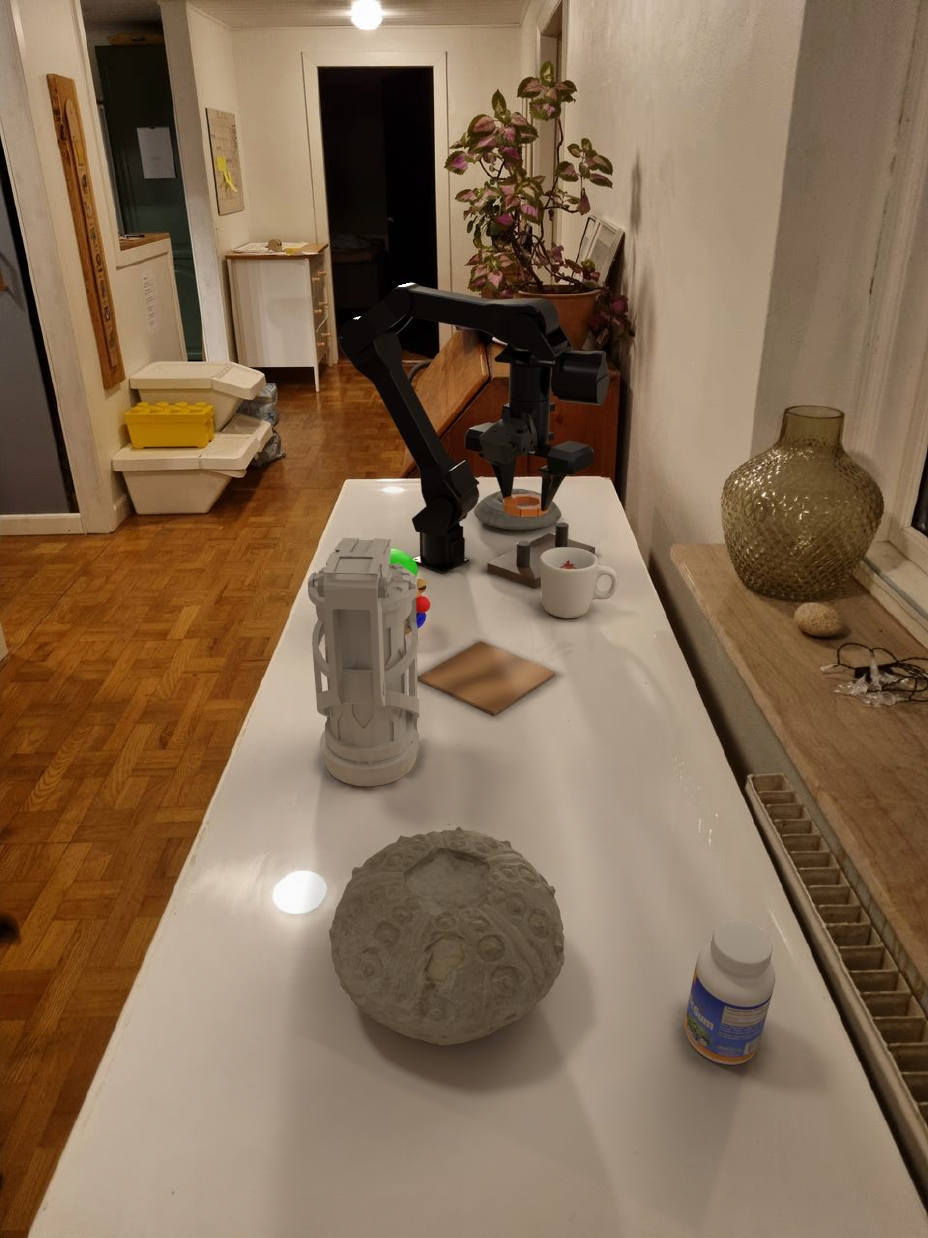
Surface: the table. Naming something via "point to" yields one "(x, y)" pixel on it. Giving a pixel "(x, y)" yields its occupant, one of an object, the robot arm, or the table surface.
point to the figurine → (421, 601)
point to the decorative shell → (447, 936)
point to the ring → (526, 511)
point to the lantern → (366, 663)
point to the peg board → (532, 557)
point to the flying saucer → (495, 515)
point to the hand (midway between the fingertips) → (525, 505)
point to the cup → (572, 581)
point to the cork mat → (487, 677)
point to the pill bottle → (731, 993)
